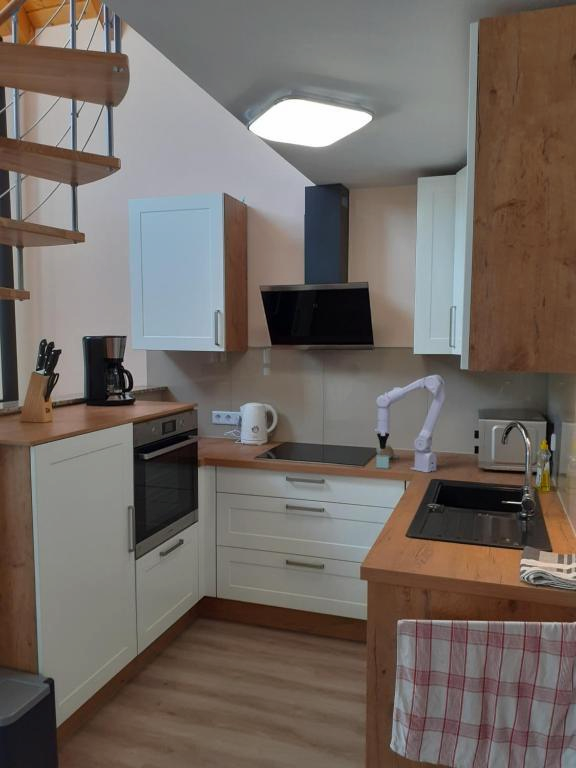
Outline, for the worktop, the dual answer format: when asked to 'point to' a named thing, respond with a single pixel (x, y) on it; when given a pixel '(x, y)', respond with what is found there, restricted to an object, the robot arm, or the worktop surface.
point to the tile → (382, 462)
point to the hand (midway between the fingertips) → (382, 448)
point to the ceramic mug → (386, 451)
